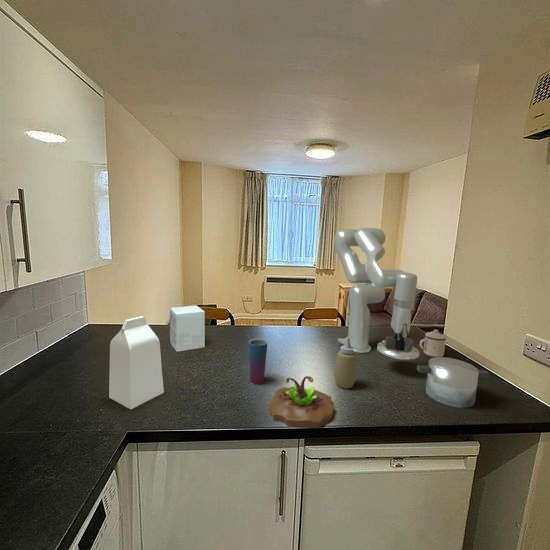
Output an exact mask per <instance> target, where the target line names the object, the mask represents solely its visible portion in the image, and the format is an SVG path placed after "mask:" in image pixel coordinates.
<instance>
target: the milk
mask: <svg viewBox="0 0 550 550" xmlns="http://www.w3.org/2000/svg"><path fill="white" fill-rule="evenodd" d="M160 344H161V343H160V340H159V337H158V336H157V335H156V334H155V331H154V330H152V327H150V325H149V324H148V322H147V320H146V317H145V316H142V315H141V316H136V317H133V318H129V319H125V320H124V321H123V325H122V327H121V329H120V330H119V331H118V333H116V334H115V336H113V338H112V339H111V340H110V343H109V378H108V379H109V382H108V383H109V384H108V385H109V389H108V392H109V394H108V398H109V399H111V400H113V401H114V402H116V403H118V404H120V405H122V406H123V407H125V408H127V409H129V410H132V409H134V408H137V407H138V406H140V405H143V404H144V403H146V402H148V401H150V400H152V399H155V398H157V397H158V396H160V395H162V394H164V393H165V392H164V390H165V389H164V379H163V369H162V355H161V345H160Z"/></svg>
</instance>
